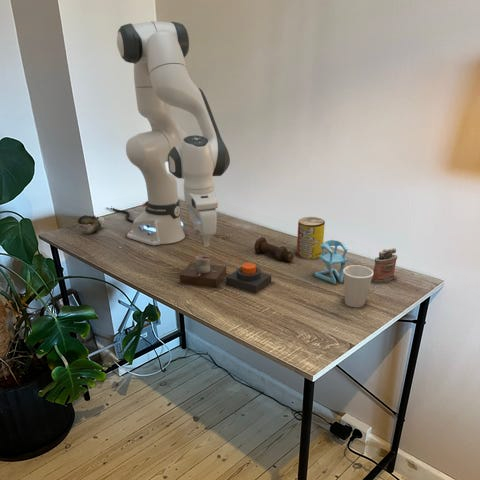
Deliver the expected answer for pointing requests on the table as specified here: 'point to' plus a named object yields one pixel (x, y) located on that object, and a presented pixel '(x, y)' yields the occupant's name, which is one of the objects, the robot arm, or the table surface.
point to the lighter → (384, 266)
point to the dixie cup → (356, 284)
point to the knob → (202, 263)
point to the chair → (332, 261)
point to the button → (248, 268)
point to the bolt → (273, 250)
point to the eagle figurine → (93, 221)
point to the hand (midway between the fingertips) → (202, 240)
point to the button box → (248, 280)
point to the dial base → (203, 276)
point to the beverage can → (310, 237)
